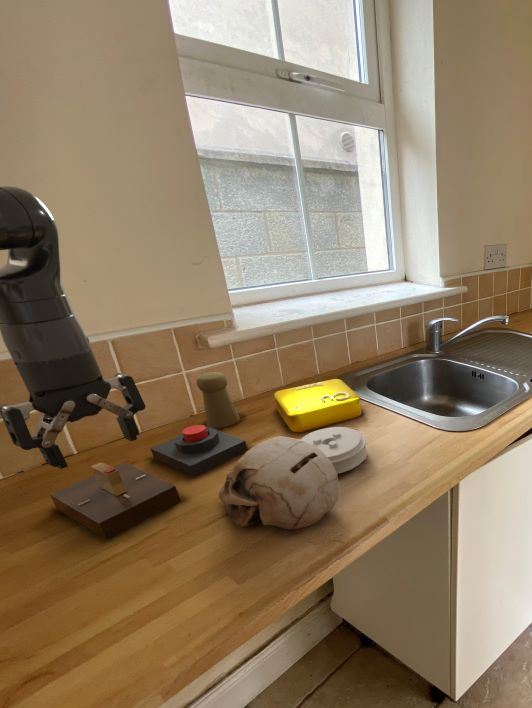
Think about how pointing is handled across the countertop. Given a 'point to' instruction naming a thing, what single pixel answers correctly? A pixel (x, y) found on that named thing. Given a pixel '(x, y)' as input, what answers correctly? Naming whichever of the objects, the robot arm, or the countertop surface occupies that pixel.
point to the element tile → (317, 405)
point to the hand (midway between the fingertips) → (98, 452)
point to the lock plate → (116, 501)
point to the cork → (217, 400)
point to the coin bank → (281, 485)
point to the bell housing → (199, 451)
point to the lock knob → (108, 479)
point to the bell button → (194, 433)
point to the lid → (339, 446)
